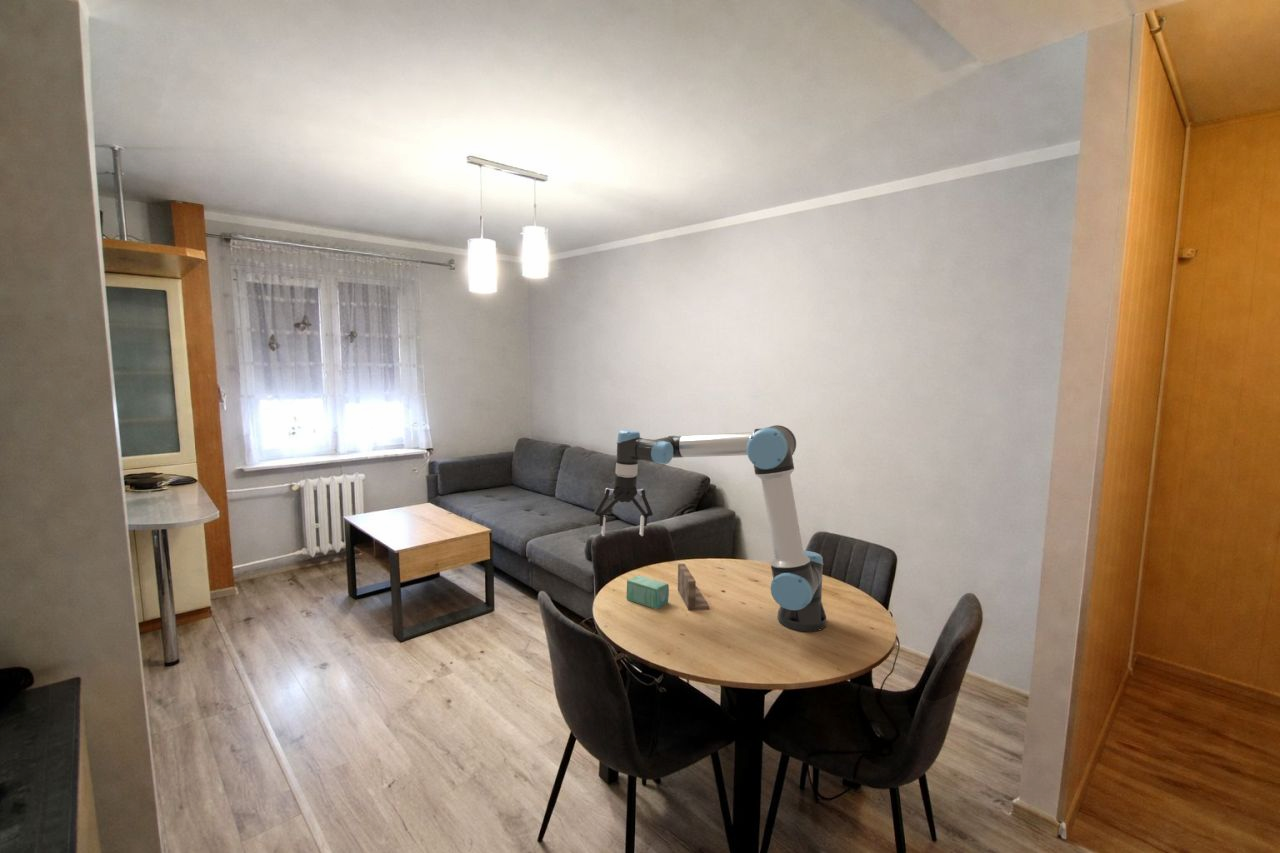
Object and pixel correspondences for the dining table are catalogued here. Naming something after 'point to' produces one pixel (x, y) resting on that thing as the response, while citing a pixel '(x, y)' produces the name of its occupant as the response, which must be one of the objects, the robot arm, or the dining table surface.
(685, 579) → the walnut angle bracket
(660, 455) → the robot arm
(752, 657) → the dining table surface
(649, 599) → the box
